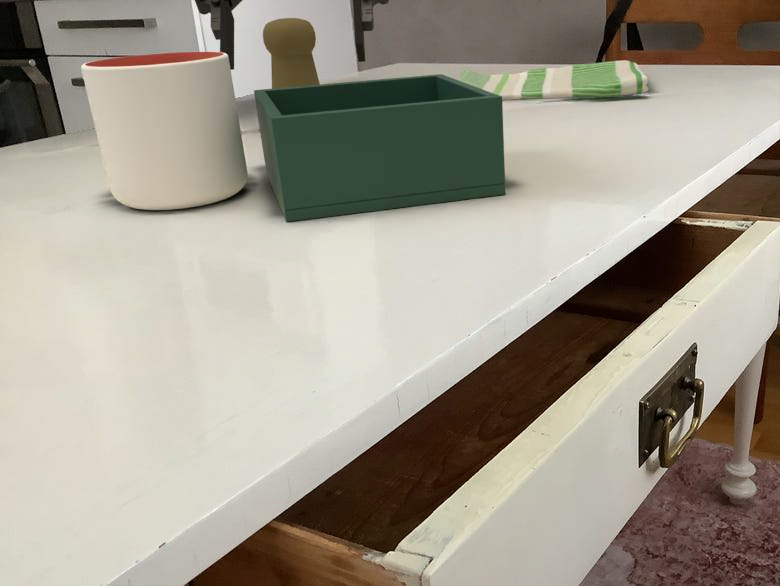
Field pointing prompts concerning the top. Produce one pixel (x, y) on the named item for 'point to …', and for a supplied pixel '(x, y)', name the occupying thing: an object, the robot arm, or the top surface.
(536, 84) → the dish towel
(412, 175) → the tub
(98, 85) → the cup
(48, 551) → the top surface
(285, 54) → the cork
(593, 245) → the top surface
